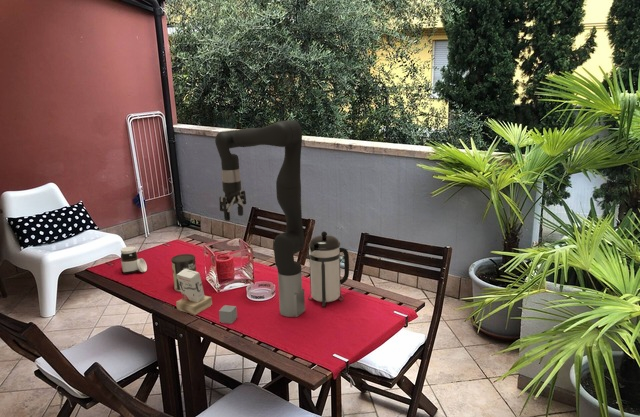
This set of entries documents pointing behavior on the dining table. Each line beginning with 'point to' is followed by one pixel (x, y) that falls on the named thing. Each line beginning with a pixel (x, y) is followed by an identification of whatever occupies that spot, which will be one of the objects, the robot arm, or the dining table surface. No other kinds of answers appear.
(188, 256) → the coffee can
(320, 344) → the dining table surface
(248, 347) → the dining table surface
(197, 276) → the ink box
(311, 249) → the coffee press
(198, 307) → the beech block
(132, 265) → the spread jar
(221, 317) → the slate cube
